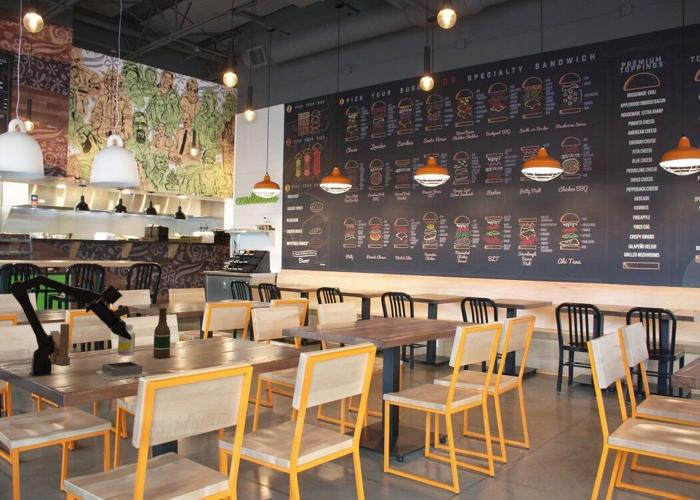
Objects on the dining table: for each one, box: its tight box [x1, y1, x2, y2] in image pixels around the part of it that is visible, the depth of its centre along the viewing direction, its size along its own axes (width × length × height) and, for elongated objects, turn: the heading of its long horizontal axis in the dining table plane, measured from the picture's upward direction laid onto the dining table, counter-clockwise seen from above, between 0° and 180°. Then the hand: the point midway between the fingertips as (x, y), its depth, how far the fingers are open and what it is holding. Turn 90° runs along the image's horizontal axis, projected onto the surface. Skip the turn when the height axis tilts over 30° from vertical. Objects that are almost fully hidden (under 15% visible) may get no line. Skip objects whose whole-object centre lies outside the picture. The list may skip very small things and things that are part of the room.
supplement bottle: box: [117, 323, 136, 357], centre depth 254 cm, size 7×7×13 cm
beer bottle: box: [152, 306, 171, 360], centre depth 286 cm, size 8×8×24 cm
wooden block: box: [49, 323, 71, 366], centre depth 262 cm, size 4×11×18 cm, turn 55°
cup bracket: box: [95, 361, 150, 382], centre depth 241 cm, size 16×16×4 cm
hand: (130, 338), depth 255 cm, fingers closed on supplement bottle, 7 cm apart
